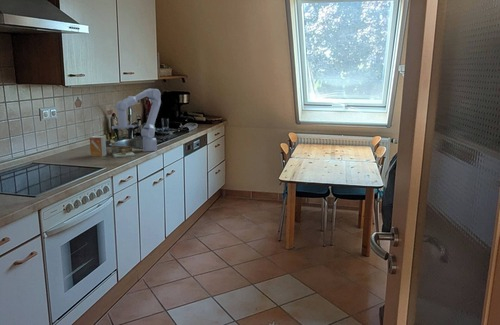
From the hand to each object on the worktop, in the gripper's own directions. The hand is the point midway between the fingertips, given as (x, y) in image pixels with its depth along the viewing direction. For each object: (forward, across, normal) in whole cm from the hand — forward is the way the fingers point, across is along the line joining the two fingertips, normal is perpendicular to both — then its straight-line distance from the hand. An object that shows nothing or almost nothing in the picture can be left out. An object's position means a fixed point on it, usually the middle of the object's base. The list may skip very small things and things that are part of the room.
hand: (123, 139), depth 279 cm
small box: (+10, +17, -1) cm, 20 cm away
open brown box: (+10, +1, -4) cm, 11 cm away
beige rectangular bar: (+6, +6, -17) cm, 19 cm away
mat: (+10, +2, +6) cm, 12 cm away
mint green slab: (+10, +2, +6) cm, 12 cm away
